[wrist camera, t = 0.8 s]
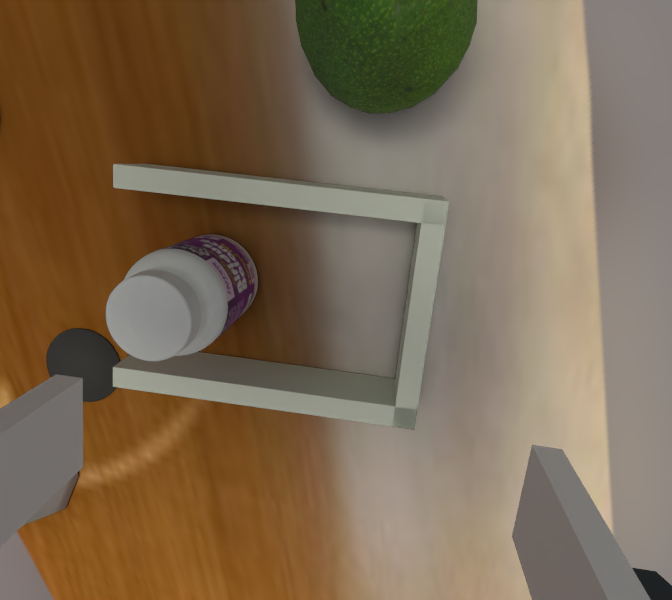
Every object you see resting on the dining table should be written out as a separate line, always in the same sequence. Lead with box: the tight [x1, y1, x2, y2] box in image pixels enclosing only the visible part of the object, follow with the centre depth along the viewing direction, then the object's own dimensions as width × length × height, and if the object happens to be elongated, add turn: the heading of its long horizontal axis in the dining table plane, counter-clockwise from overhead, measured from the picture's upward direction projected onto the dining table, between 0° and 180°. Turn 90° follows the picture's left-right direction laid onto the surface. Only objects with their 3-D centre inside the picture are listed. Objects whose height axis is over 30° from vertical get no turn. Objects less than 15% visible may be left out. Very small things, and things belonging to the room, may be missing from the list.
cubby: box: [113, 164, 449, 430], centre depth 31 cm, size 12×17×4 cm
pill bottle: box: [106, 234, 258, 361], centre depth 29 cm, size 5×5×10 cm
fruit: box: [295, 0, 477, 113], centre depth 24 cm, size 8×8×12 cm
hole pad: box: [47, 329, 120, 402], centre depth 36 cm, size 5×5×1 cm
